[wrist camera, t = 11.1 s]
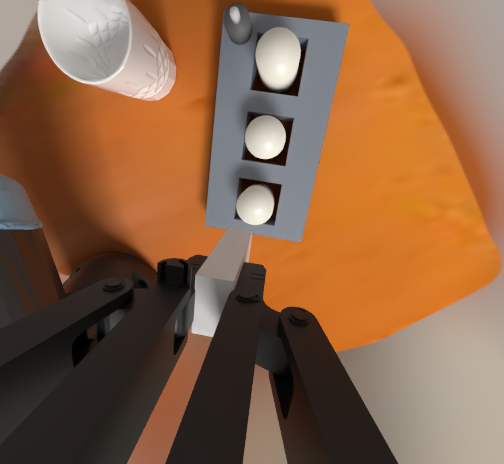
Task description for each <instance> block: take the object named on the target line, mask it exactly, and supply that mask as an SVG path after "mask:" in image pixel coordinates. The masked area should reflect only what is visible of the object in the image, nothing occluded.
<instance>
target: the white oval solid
mask: <svg viewBox="0 0 504 464" xmlns="http://www.w3.org/2000/svg"><path fill="white" fill-rule="evenodd" d="M285 140H286V133H285V129H284V127H283V125H282V123H281V122H280V121H279V120H278V119H276V118H275V117H272V116H269V115H263V116H259V117H257V118H255V119H254V120H253V121H252V122H251V123H250V124H249V125H248V127H247V129H246V133H245V142H246V146H247V148H248V150H249V151H250V152H251V153H252V154H253V155H254V156H256V157H258V158H261V159H269V158H273V157H275V156H277V155H278V154H279V153H280V152H281V151H282V149H283V147H284V145H285Z"/></svg>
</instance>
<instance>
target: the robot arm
mask: <svg viewBox="0 0 504 464" xmlns="http://www.w3.org/2000/svg"><path fill="white" fill-rule="evenodd" d="M43 227H44V226H43V222H41V221H40V220H39V219H38V217H37V215H36V213H35V210H34V208H33V206H32V204H31V201H30V199H29V197H28V194H27V192H26V190H25V189H24V187H23V186H22V185H21V184H20V183H18V182H17V181H15V180H14V179H12V178H10V177H7V176H4V175H1V174H0V464H127V462H128V460H129V458H130V456H131V454H132V452H133V450H134V448H135V446H136V444H137V442H138V440H139V437H140V436H141V434H142V432H143V430H144V428H145V426H146V423H147V422H148V420H149V417H150V415H151V413H152V412H153V410H154V408H155V405H156V403H157V402H158V400H159V397H160V395H161V393H162V391H163V389H164V387H165V385H166V383H167V381H168V379H169V377H170V375H171V373H172V371H173V369H174V367H175V365H176V363H177V361H178V359H179V357H180V355H181V353H182V351H183V349H184V347H185V345H186V343H187V340H188V330H189V328H190V326H191V324H192V333H195V334H200V335H205V336H211V337H213V338H212V341H211V343H210V346H209V349H208V351H207V354H206V357H205V359H204V362H203V365H202V367H201V370H200V373H199V375H198V378H197V381H196V384H195V386H194V389H193V391H192V394H191V397H190V399H189V402H188V405H187V407H186V410H185V413H184V416H183V418H182V421H181V423H180V426H179V429H178V431H177V434H176V437H175V439H174V442H173V445H172V447H171V450H170V453H169V455H168V458H167V461H166V463H165V464H243V455H244V447H245V440H246V432H247V424H248V416H249V408H250V400H251V391H252V384H253V376H254V367H255V364H257V365H259V366H261V367H262V368H264V369H266V370H268V371H269V379H270V383H271V388H272V393H273V398H274V402H275V407H276V412H277V416H278V421H279V426H280V430H281V435H282V439H283V444H284V449H285V454H286V458H287V463H288V464H398V463H397V461H396V459H395V457H394V455H393V454H392V452H391V450H390V448H389V447H388V445H387V443H386V441H385V439H384V438H383V436H382V434H381V432H380V430H379V429H378V427H377V425H376V424H375V422H374V420H373V418H372V416H371V415H370V413H369V411H368V409H367V408H366V406H365V404H364V402H363V400H362V399H361V397H360V395H359V393H358V391H357V390H356V388H355V386H354V384H353V383H352V381H351V379H350V377H349V376H348V374H347V372H346V370H345V368H344V367H343V365H342V363H341V361H340V359H339V358H338V356H337V354H336V352H335V351H334V349H333V347H332V345H331V344H330V342H329V340H328V338H327V336H326V335H325V333H324V331H323V329H322V328H321V326H320V324H319V322H318V320H317V319H316V318H315V316H314V315H313V314H312V313H310V312H309V311H307V310H305V309H302V308H299V307H287V308H285V309H283V310H282V311H281V313H280V312H277V311H275V310H273V309H271V308H270V307H268V306H267V305H266V304H265V303H264V301H263V291H264V283H265V275H266V269H265V268H264V266H263V265H259V264H254V263H248V261H249V254H250V247H251V239H252V232H253V230H247V229H241V228H234V227H229V228H228V230H227V231H226V232H225V234H224V235H223V237H222V238H221V239H220V241H219V242H218V244H217V245H216V247H215V248H214V249H213V251H212V252H211V254H210V255H209V256H202V255H195V256H193V257H190V258H189V259H188V260H184V259H178V258H171V259H165V260H162V261H160V262H158V266H157V274H156V273H155V272H154V271H153V270H152V269H151V268H150V267H149V266H148V265H147V264H145V263H144V262H142V261H141V260H139V259H137V258H135V257H133V256H130V255H127V254H123V253H117V252H108V253H102V254H99V255H96V256H94V257H93V258H91V259H89V260H87V261H85V262H83V263H82V264H81V265H79V266H78V267H77V268H76V269H75V270H74V271H73V272H72V274H71V275H70V277H69V279H68V280H66V281H65V282H64V283H63V284H62V282H61V280H60V277H59V274H58V271H57V268H56V266H55V263H54V260H53V257H52V255H51V252H50V249H49V246H48V243H47V241H46V238H45V235H44V232H43V230H42V228H43Z"/></svg>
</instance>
